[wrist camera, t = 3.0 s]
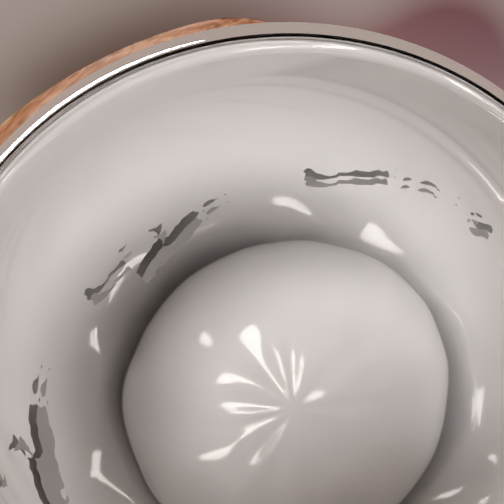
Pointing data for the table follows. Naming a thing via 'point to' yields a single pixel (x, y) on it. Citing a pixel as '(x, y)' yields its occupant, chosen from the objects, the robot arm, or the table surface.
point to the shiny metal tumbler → (256, 277)
